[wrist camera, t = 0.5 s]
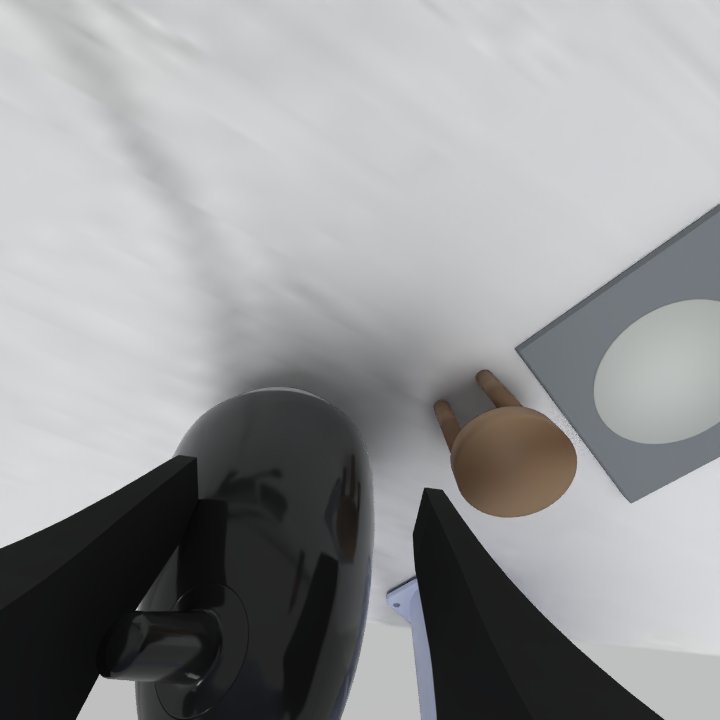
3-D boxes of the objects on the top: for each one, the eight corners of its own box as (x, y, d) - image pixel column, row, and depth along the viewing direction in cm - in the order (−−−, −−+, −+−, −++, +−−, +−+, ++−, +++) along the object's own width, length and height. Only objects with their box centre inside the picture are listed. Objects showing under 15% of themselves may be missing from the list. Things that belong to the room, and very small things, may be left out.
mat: (812, 396, 20) (827, 401, 20) (624, 497, 23) (632, 504, 22) (720, 204, 17) (734, 202, 16) (514, 348, 20) (519, 352, 19)
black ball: (320, 332, 19) (361, 600, 5) (380, 462, 23) (490, 805, 10) (158, 400, 19) (-218, 844, 5) (246, 518, 23) (161, 944, 10)
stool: (538, 415, 21) (598, 478, 16) (465, 461, 23) (497, 534, 17) (489, 352, 20) (536, 395, 14) (416, 405, 21) (432, 464, 16)
